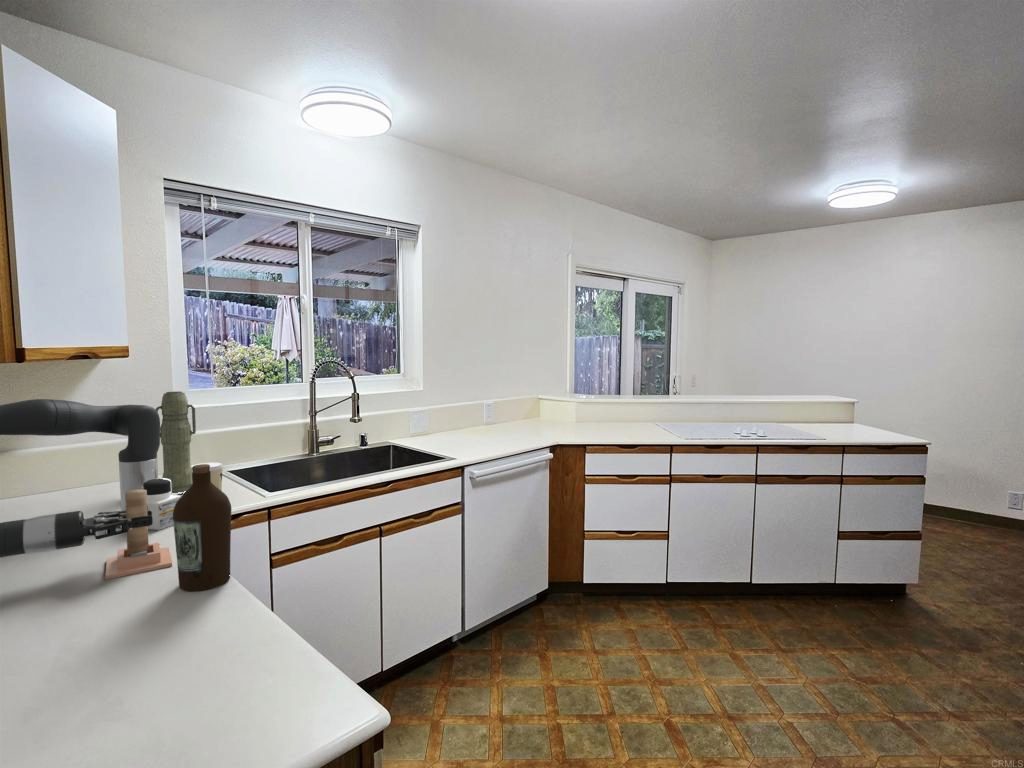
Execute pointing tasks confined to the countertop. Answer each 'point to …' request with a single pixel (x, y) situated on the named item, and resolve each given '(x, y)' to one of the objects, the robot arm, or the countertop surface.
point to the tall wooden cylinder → (136, 508)
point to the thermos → (176, 439)
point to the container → (160, 502)
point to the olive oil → (202, 533)
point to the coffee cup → (213, 473)
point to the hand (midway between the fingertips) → (151, 517)
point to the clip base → (138, 561)
